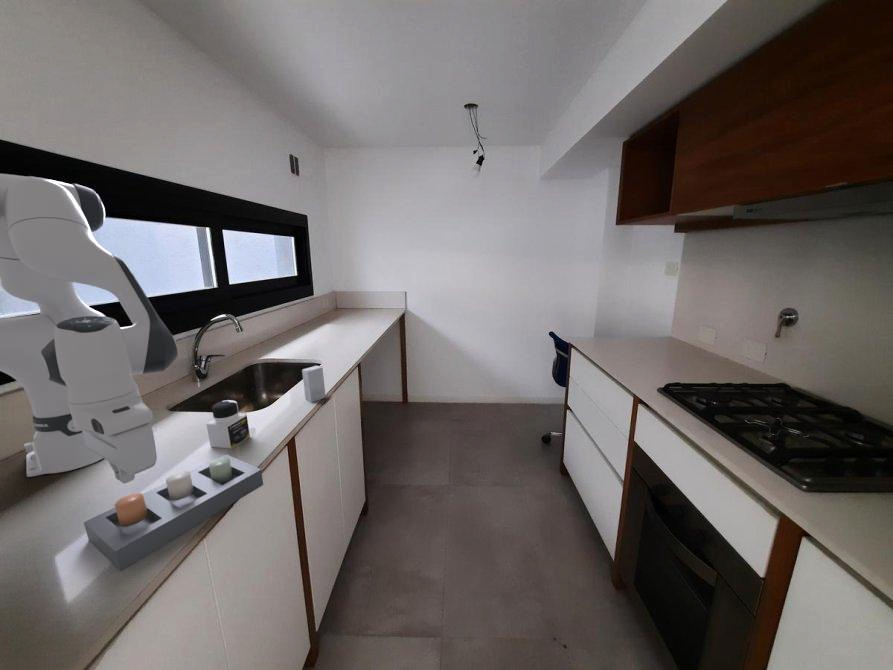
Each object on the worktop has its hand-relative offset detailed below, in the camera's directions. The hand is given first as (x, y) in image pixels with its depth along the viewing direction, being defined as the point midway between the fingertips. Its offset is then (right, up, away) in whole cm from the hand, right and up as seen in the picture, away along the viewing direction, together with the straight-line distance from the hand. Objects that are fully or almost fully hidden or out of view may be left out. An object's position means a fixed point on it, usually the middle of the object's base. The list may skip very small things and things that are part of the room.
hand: (125, 479), depth 65 cm
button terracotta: (0, -8, +2) cm, 8 cm away
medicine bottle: (-3, -4, +37) cm, 37 cm away
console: (+4, -10, +9) cm, 14 cm away
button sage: (+8, -6, +16) cm, 19 cm away
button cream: (+4, -6, +8) cm, 11 cm away
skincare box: (+10, +2, +66) cm, 67 cm away
